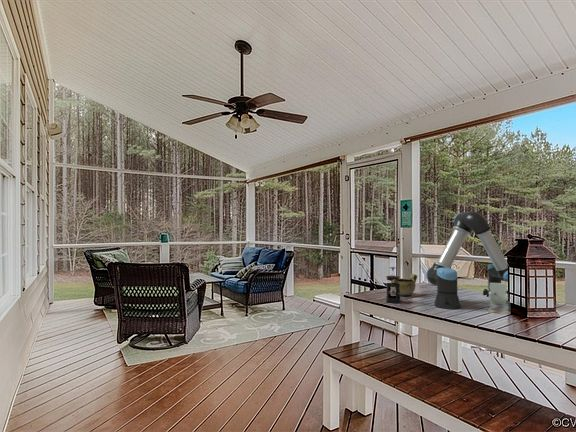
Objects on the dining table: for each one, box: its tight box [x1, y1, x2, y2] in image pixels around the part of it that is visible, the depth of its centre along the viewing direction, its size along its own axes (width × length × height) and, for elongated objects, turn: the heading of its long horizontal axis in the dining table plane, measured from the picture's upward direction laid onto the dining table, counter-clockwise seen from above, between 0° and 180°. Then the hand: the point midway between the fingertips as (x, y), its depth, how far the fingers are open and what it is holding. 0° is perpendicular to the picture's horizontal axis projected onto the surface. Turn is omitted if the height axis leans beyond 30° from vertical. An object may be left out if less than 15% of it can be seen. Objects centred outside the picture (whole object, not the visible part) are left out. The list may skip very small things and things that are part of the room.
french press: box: [385, 266, 402, 305], centre depth 239 cm, size 12×9×23 cm
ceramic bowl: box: [389, 273, 418, 297], centre depth 261 cm, size 22×17×15 cm
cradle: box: [487, 300, 511, 315], centre depth 208 cm, size 11×6×6 cm, turn 63°
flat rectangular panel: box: [489, 282, 507, 304], centre depth 213 cm, size 8×3×16 cm, turn 63°
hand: (498, 296), depth 209 cm, fingers closed on flat rectangular panel, 8 cm apart
